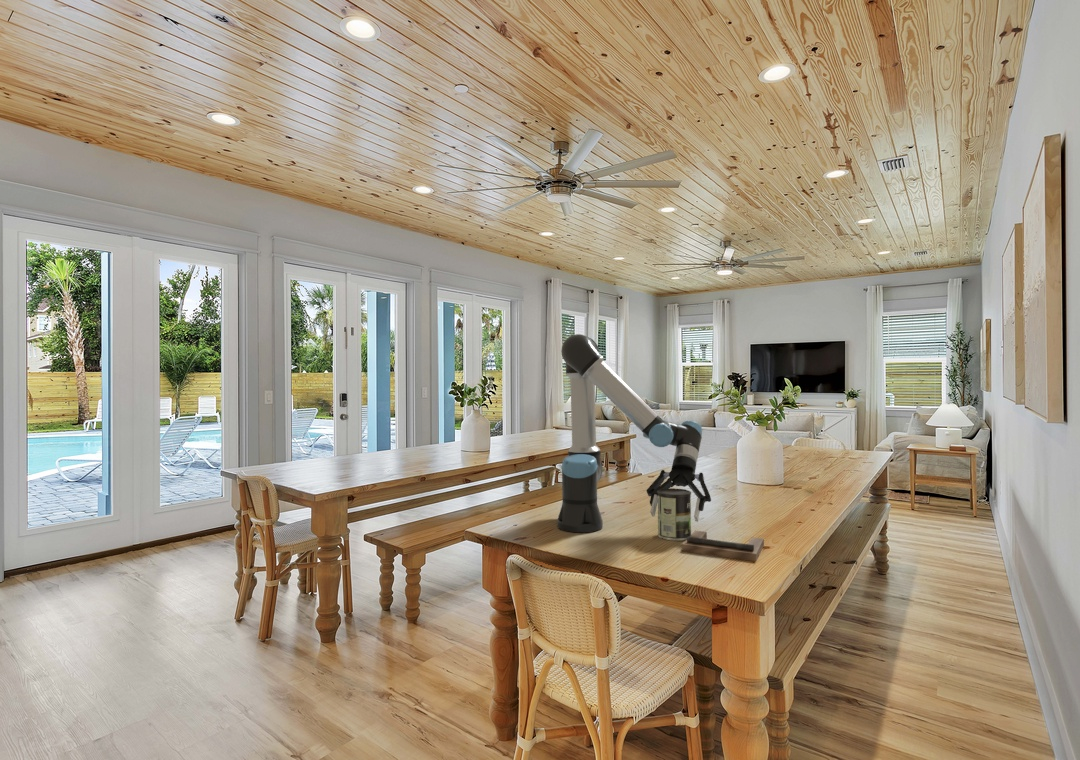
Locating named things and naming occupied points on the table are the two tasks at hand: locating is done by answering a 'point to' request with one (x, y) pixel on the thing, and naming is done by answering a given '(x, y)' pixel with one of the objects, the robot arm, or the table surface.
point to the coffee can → (674, 514)
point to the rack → (723, 547)
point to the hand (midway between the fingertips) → (673, 516)
